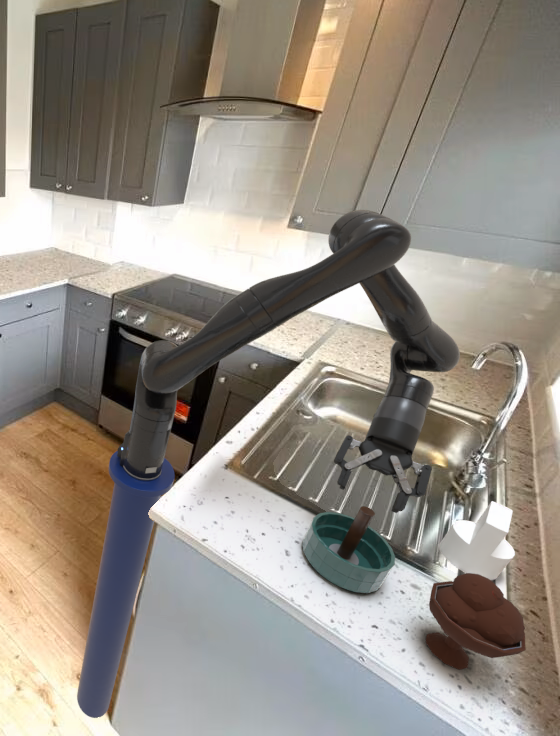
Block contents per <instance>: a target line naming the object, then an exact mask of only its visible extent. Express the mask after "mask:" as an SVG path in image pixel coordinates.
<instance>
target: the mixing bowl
mask: <svg viewBox="0 0 560 736" xmlns="http://www.w3.org/2000/svg"><path fill="white" fill-rule="evenodd" d="M354 519H355V517H353V516H350V515H347V514H345V513H340V512H334V511H326V512H319V513H318V514H317V515H315V516H314V517H313V518H312V520H311V522H310V524H309V526H308V529H307V530H306V533H305V535H304V537H303V540H302V543H301V545H302V550H303V554H304V557H306V559H307V561H308V562H309V564H310V565H311V566H312V568H313V569H314V570H315V571H316V572H317V573H318V574H319V575H320V576H321V577H323V578H324V579H325V580H327V581H328V582H330V583H331V584H332V585H334V586H336V587H339V588H341V589H343V590H346V591H350V592H354V593H360V594H369V593H373V592H376V591H378V590H379V589H380V588H381V587H382V585H383V584H384V582H385V581H386V579H387V578H388V576H389V574H390V573H391V571H392V569H393V568H394V567H395V563H396V555H395V552H394V551H393V548H392V546H391V545H390V544H389V542H388V541H387V540H386V539H385V538H384V537H383V536H382V535H381V534H380V533H379V532H378V531H377V530H375V529H374V528H373V527H371V526H370V525H369V526H368V528H367V530H366V531H365V533H364V535H363V537H362V539H361V540H360V542H359V544H358V546H357V547H356V549H355V551H354V553H355V554H356V556H357V557H358V559H359V564H358V565H355V564H353V563H351V562H349V561H347V560H345V559H343V558H341V557H340V556H339V555H337V554H336V553H334V552H333V551H332V550H330V549H329V546H330V545H332V544H340V545H341V543H342V541H343V539H344V538H345V536H346V534H347V532H348V530H349V528H350V526H351V524H352V523H353V521H354Z"/></svg>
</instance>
